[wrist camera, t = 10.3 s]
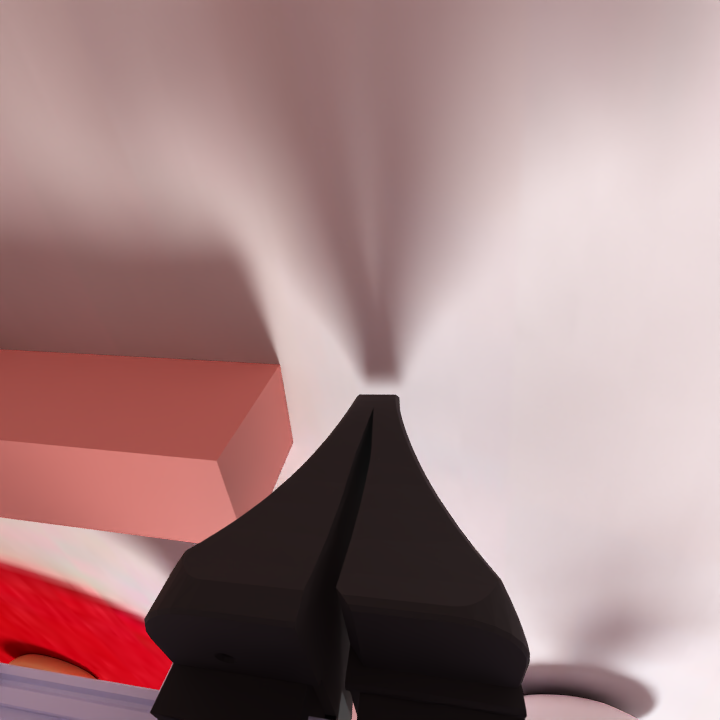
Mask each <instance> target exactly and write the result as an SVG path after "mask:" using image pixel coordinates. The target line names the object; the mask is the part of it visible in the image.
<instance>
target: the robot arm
mask: <svg viewBox="0 0 720 720" xmlns="http://www.w3.org/2000/svg"><path fill="white" fill-rule="evenodd" d="M144 620H145V627H146V632H147V633H148V635H149V636H150V638H151V639H152V640H153V641H154V642H155V643H156V644H157V646H158V647H159V648H160V649H161V650H162V651H163V652H164V653H165V654H166V655H167V656H168V658H169V659H170V660H171V661H172V662H173V663H172V666H171V668H170V670H169V672H168V674H167V676H166V678H165V680H164V682H163V684H162V686H161V688H160V690H155V689H149V688H143V687H138V686H132V685H126V684H120V683H114V682H109V681H103V680H97V679H91V678H85V677H80V676H74V675H68V674H62V673H56V672H51V671H45V670H39V669H33V668H28V667H22V666H16V665H10V664H4V663H0V720H351V719H352V705H353V703H354V706H355V710H356V713H357V720H525V718H526V717H527V711H526V705H525V700H524V695H523V690H522V686H521V683H522V681H523V678H524V676H525V673H526V670H527V668H528V665H529V662H530V652H529V648H528V644H527V641H526V638H525V635H524V632H523V629H522V626H521V623H520V621H519V618H518V615H517V613H516V611H515V609H514V606H513V604H512V602H511V600H510V597H509V595H508V593H507V591H506V589H505V587H504V585H503V583H502V581H501V579H500V578H499V577H498V575H497V574H496V573H495V572H494V571H493V570H492V568H491V567H490V566H489V565H488V564H487V563H486V561H485V560H484V559H483V558H482V556H481V555H480V554H479V553H478V551H477V550H476V549H475V548H474V547H473V545H472V544H471V543H470V541H469V540H468V539H467V537H466V536H465V535H464V533H463V532H462V531H461V529H460V528H459V527H458V525H457V524H456V522H455V521H454V519H453V518H452V517H451V515H450V514H449V512H448V511H447V509H446V508H445V506H444V505H443V503H442V502H441V500H440V499H439V497H438V496H437V494H436V492H435V491H434V489H433V487H432V486H431V484H430V482H429V480H428V479H427V477H426V475H425V473H424V471H423V469H422V467H421V465H420V463H419V461H418V459H417V457H416V455H415V453H414V450H413V448H412V446H411V443H410V441H409V438H408V435H407V433H406V430H405V427H404V424H403V421H402V417H401V413H400V404H399V397H398V396H397V395H359V396H358V397H357V398H356V399H355V401H354V402H353V404H352V405H351V407H350V408H349V410H348V411H347V413H346V414H345V415H344V417H343V418H342V420H341V421H340V422H339V424H338V425H337V426H336V427H335V429H334V430H333V431H332V433H331V434H330V435H329V436H328V438H327V439H326V440H325V441H324V442H323V443H322V445H321V446H320V447H319V448H318V449H317V450H316V451H315V453H314V454H313V455H312V456H311V457H310V458H309V459H308V460H307V461H306V462H305V463H304V464H303V465H302V466H301V467H300V468H299V469H298V470H297V471H296V472H295V473H294V474H293V475H292V476H291V477H290V478H289V479H287V480H286V481H285V482H284V483H283V484H282V485H281V486H279V487H278V488H277V489H276V490H275V491H274V492H272V493H271V494H270V495H269V496H268V497H266V498H265V499H264V500H263V501H261V502H260V503H259V504H257V505H256V506H254V507H253V508H252V509H250V510H249V511H248V512H246V513H245V514H244V515H242V516H241V517H239V518H238V519H236V520H235V521H233V522H232V523H230V524H229V525H227V526H226V527H224V528H223V529H221V530H220V531H218V532H216V533H215V534H213V535H211V536H210V537H208V538H207V539H205V540H203V541H202V542H200V543H198V544H197V545H195V546H194V547H192V548H190V549H188V550H187V551H185V553H184V554H183V556H182V557H181V559H180V560H179V562H178V563H177V565H176V566H175V568H174V569H173V571H172V572H171V574H170V576H169V578H168V579H167V581H166V583H165V585H164V586H163V588H162V590H161V591H160V593H159V595H158V597H157V598H156V600H155V602H154V603H153V605H152V607H151V609H150V610H149V612H148V614H147V616H146V617H145V619H144Z"/></svg>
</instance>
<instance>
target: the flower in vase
mask: <svg viewBox="0 0 720 720" xmlns="http://www.w3.org/2000/svg"><path fill="white" fill-rule="evenodd" d="M524 700H525V705H526V711H527V717H526V718H525V720H639V719H637V718H636V717H634V716H632V715H630V714H627V713H625V712H623V711H621V710H619V709H617V708H615V707H612V706H610V705H607V704H605V703H601V702H598V701H594V700H590V699H585V698H579V697H573V696H566V695H525V696H524Z"/></svg>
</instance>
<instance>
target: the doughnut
mask: <svg viewBox="0 0 720 720" xmlns="http://www.w3.org/2000/svg"><path fill="white" fill-rule="evenodd" d="M9 664H10V665H16V666H22V667H28V668H33V669H39V670H45V671H51V672H56V673H62V674H68V675H74V676H80V677H85V678H91V679H96V678H95V677H94V676H92V675H91V674H90V673H88V672H87V671H85V670H83V669H81V668H79V667H77V666H75V665H73V664H70V663H68V662H65V661H62V660H59V659H56V658H53V657H49V656H45V655H39V654H26V655H23V656H20V657H18V658H16V659H14V660H13V661H11V662H10V663H9Z"/></svg>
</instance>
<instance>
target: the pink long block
mask: <svg viewBox="0 0 720 720" xmlns="http://www.w3.org/2000/svg"><path fill="white" fill-rule="evenodd" d="M292 444H293V438H292V432H291V426H290V421H289V415H288V409H287V403H286V397H285V392H284V386H283V380H282V374H281V368H280V365H279V364H261V363H242V362H224V361H206V360H187V359H169V358H150V357H132V356H113V355H95V354H76V353H58V352H39V351H21V350H3V349H0V517H2V518H10V519H17V520H25V521H33V522H40V523H48V524H55V525H63V526H71V527H78V528H86V529H94V530H101V531H109V532H116V533H124V534H132V535H139V536H147V537H154V538H162V539H170V540H177V541H185V542H192V543H200V542H202V541H203V540H205V539H207V538H208V537H210V536H211V535H213V534H215V533H216V532H218V531H220V530H221V529H223V528H224V527H226V526H227V525H229V524H230V523H232V522H233V521H235V520H236V519H238V518H239V517H241V516H242V515H244V514H245V513H246V512H248V511H249V510H250V509H252V508H253V507H254V506H256V505H257V504H259V503H260V502H261V501H263V500H264V499H265V498H266V497H268V496H269V495H270V494H271V493H272V491H273V488H274V486H275V484H276V481H277V479H278V477H279V474H280V472H281V470H282V467H283V465H284V463H285V460H286V458H287V456H288V453H289V451H290V449H291V446H292Z"/></svg>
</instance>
